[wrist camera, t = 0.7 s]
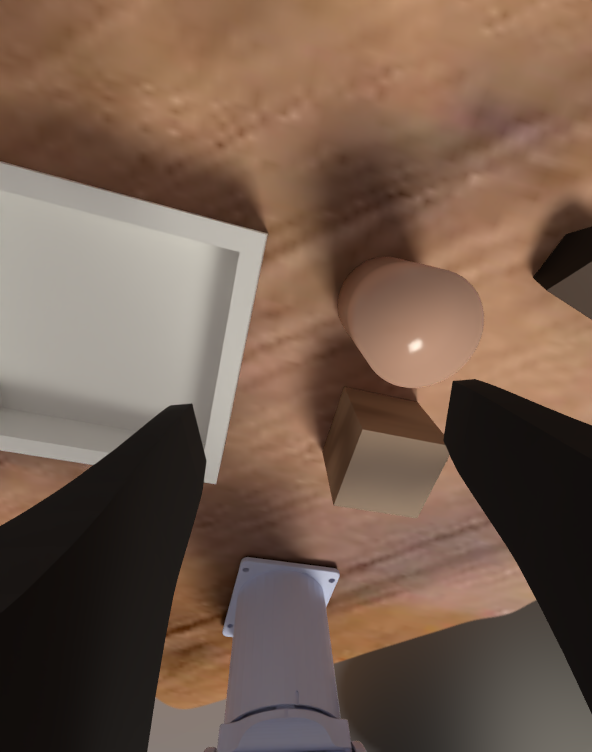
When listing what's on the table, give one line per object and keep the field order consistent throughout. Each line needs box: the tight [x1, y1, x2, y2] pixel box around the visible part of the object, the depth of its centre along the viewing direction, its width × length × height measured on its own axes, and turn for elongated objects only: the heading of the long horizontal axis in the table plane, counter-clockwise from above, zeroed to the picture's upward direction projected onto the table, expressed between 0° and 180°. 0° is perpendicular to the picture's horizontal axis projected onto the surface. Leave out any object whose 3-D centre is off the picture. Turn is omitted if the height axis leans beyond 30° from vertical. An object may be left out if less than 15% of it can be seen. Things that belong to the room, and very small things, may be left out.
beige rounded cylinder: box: [338, 256, 484, 388], centre depth 17 cm, size 5×5×6 cm
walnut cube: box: [322, 387, 450, 518], centre depth 20 cm, size 5×5×5 cm
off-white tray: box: [0, 161, 268, 484], centre depth 18 cm, size 14×14×3 cm
